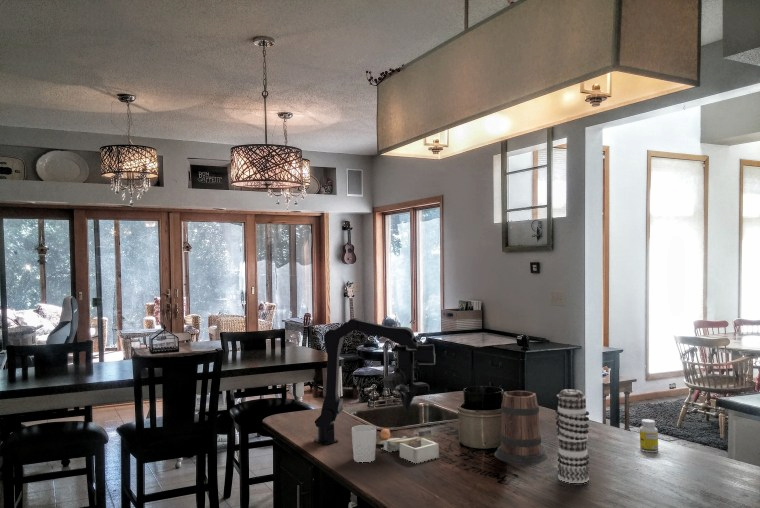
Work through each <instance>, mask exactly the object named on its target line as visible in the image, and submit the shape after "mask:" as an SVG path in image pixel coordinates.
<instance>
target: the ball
mask: <svg viewBox="0 0 760 508" xmlns="http://www.w3.org/2000/svg"><path fill="white" fill-rule="evenodd" d="M379 436H381V438H382V439H384V440H386V439H388V438H389V437H390V438H391V431H390V430H389V429H386V428H384V429H381V431H380V433H379Z"/></svg>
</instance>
